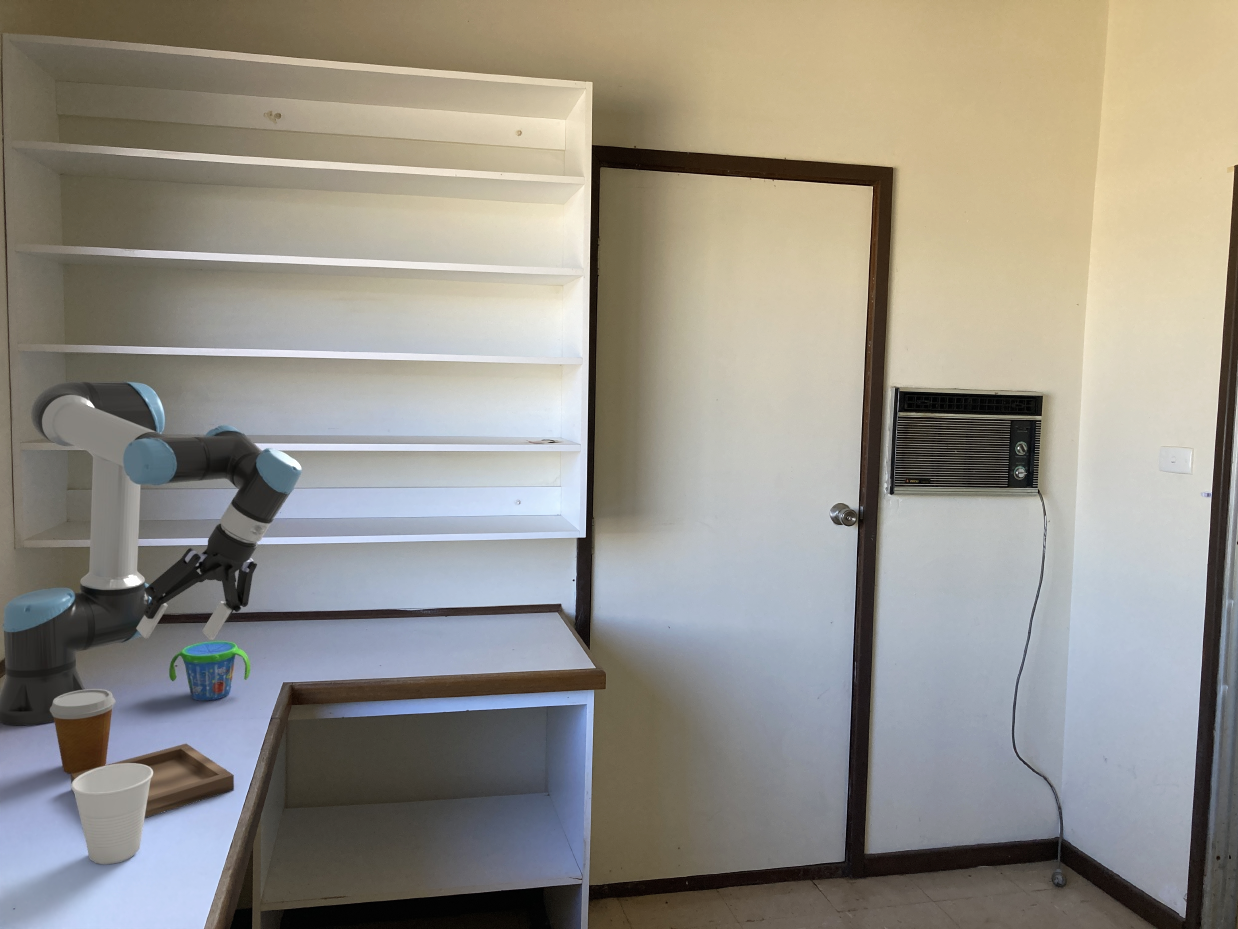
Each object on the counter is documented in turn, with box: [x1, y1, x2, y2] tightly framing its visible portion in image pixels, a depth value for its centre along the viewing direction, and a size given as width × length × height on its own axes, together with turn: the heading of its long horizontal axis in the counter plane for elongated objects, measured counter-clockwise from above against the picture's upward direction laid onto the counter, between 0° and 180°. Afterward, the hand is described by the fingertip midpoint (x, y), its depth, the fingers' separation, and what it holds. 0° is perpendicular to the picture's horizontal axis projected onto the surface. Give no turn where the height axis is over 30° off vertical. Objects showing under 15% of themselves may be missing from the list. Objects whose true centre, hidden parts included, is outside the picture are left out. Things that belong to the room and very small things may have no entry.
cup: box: [70, 763, 153, 865], centre depth 127 cm, size 10×10×11 cm
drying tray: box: [70, 743, 235, 819], centre depth 147 cm, size 18×18×2 cm
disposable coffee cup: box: [50, 688, 116, 775], centre depth 155 cm, size 10×10×12 cm
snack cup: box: [168, 640, 251, 701], centre depth 190 cm, size 16×10×10 cm
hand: (175, 634), depth 160 cm, fingers open, 13 cm apart
